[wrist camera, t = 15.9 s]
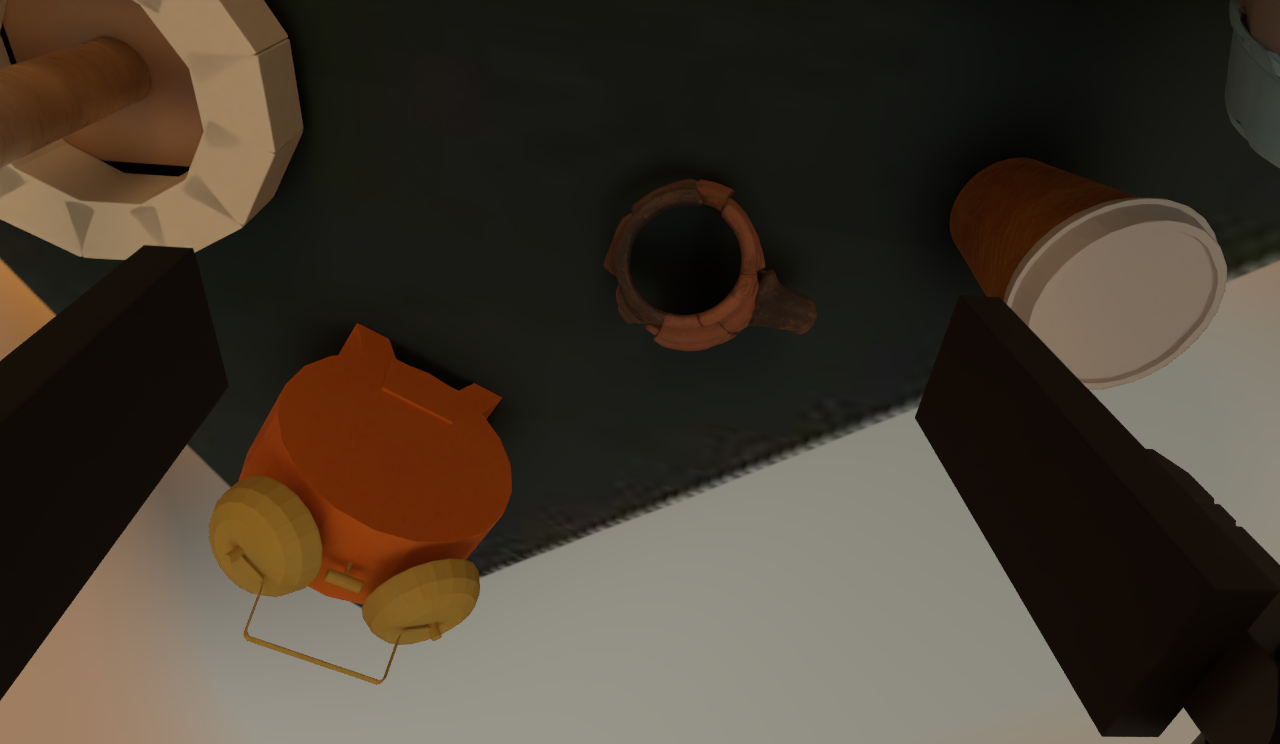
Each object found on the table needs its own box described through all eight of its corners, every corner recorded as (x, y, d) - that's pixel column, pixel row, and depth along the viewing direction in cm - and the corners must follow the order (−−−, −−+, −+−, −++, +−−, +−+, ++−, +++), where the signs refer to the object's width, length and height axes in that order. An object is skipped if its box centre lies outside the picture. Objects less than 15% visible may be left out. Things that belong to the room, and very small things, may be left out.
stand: (0, -49, 34) (-296, -13, 23) (207, -30, 35) (20, 14, 23) (66, 148, 39) (-151, 258, 28) (246, 161, 40) (106, 273, 28)
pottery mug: (602, 326, 47) (578, 327, 39) (641, 177, 46) (625, 146, 38) (790, 377, 46) (806, 389, 38) (833, 225, 45) (859, 204, 37)
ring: (-36, -227, 29) (-118, -241, 26) (351, 24, 35) (325, 40, 32) (-96, 116, 36) (-167, 141, 33) (235, 281, 42) (204, 316, 38)
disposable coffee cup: (1113, 128, 41) (1280, 210, 31) (1055, 284, 46) (1181, 398, 36) (943, 125, 40) (1057, 208, 30) (904, 284, 46) (990, 398, 36)
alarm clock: (293, 377, 47) (127, 649, 31) (333, 306, 45) (175, 562, 28) (479, 465, 52) (423, 743, 35) (525, 406, 49) (487, 676, 33)
